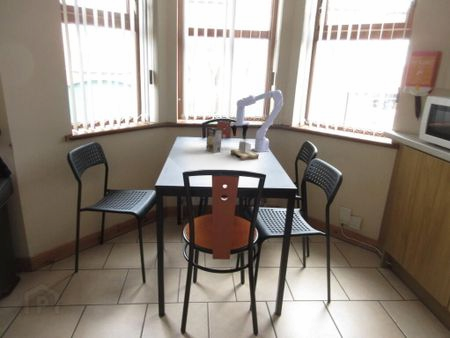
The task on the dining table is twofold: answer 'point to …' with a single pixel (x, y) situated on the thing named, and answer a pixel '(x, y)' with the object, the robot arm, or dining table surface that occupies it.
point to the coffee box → (214, 139)
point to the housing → (244, 147)
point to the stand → (245, 156)
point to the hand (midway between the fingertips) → (239, 135)
